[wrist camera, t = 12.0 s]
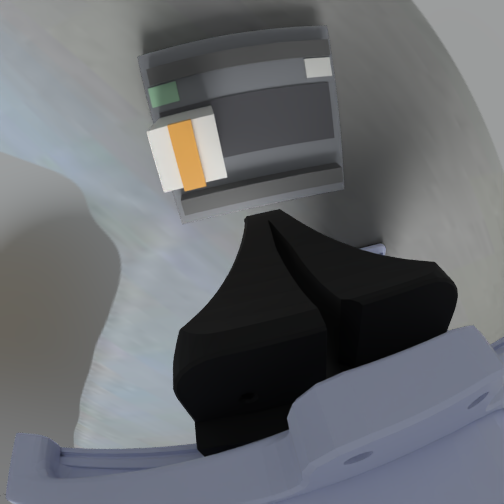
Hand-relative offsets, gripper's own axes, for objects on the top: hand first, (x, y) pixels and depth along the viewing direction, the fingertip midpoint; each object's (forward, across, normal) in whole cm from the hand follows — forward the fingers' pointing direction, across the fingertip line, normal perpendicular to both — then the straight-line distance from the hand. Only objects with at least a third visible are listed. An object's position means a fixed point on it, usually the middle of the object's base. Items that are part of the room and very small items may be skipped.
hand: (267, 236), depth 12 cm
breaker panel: (+10, -1, -3) cm, 11 cm away
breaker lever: (+8, +2, -3) cm, 9 cm away
